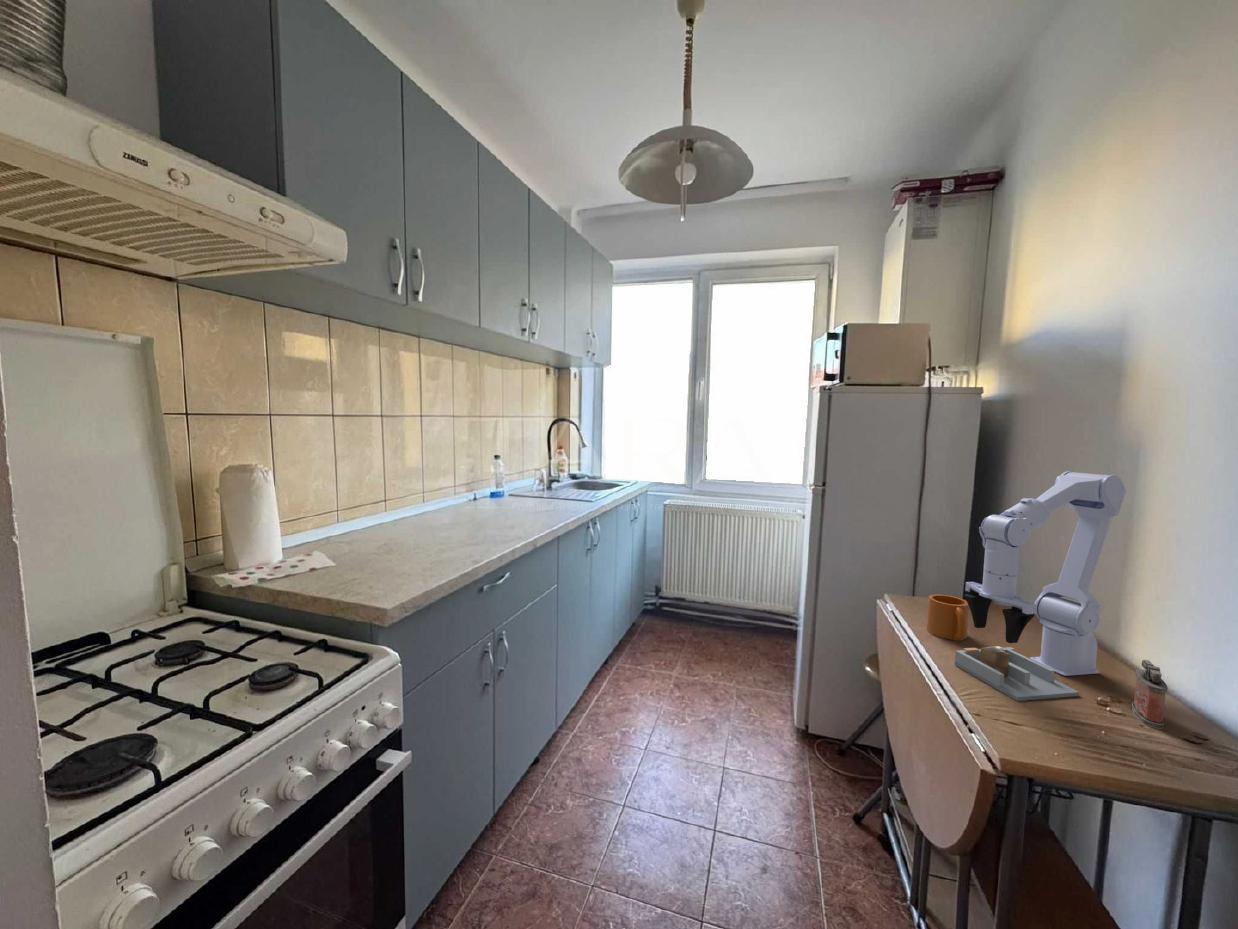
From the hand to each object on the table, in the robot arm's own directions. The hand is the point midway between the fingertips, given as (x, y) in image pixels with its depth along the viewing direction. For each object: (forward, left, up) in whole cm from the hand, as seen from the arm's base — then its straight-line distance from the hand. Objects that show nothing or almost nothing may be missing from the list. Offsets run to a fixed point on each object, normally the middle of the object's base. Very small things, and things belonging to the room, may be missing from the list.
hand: (995, 634), depth 107 cm
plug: (0, 0, -9) cm, 9 cm away
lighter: (-16, +17, -10) cm, 25 cm away
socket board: (-4, +2, -9) cm, 10 cm away
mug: (-8, -20, -10) cm, 24 cm away
